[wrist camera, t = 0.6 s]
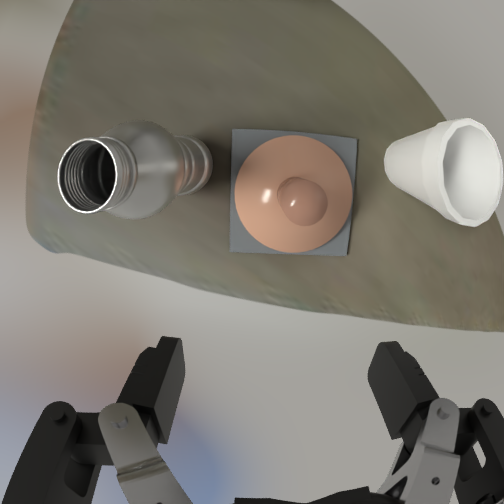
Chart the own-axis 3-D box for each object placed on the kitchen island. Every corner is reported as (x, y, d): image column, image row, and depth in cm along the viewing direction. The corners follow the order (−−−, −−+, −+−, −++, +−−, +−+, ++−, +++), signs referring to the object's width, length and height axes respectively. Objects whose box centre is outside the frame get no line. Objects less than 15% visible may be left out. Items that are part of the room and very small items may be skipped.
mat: (232, 129, 28) (232, 129, 27) (355, 139, 28) (357, 139, 27) (229, 250, 32) (229, 252, 32) (345, 255, 32) (346, 256, 32)
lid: (236, 133, 28) (231, 124, 21) (352, 142, 28) (378, 139, 21) (234, 248, 32) (228, 271, 25) (342, 251, 32) (363, 274, 25)
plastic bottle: (166, 132, 28) (48, 106, 9) (222, 142, 28) (165, 111, 9) (154, 186, 30) (34, 228, 11) (209, 198, 30) (139, 260, 11)
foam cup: (442, 158, 28) (512, 166, 16) (413, 215, 30) (479, 245, 18) (392, 112, 26) (458, 95, 14) (359, 173, 29) (419, 184, 17)
